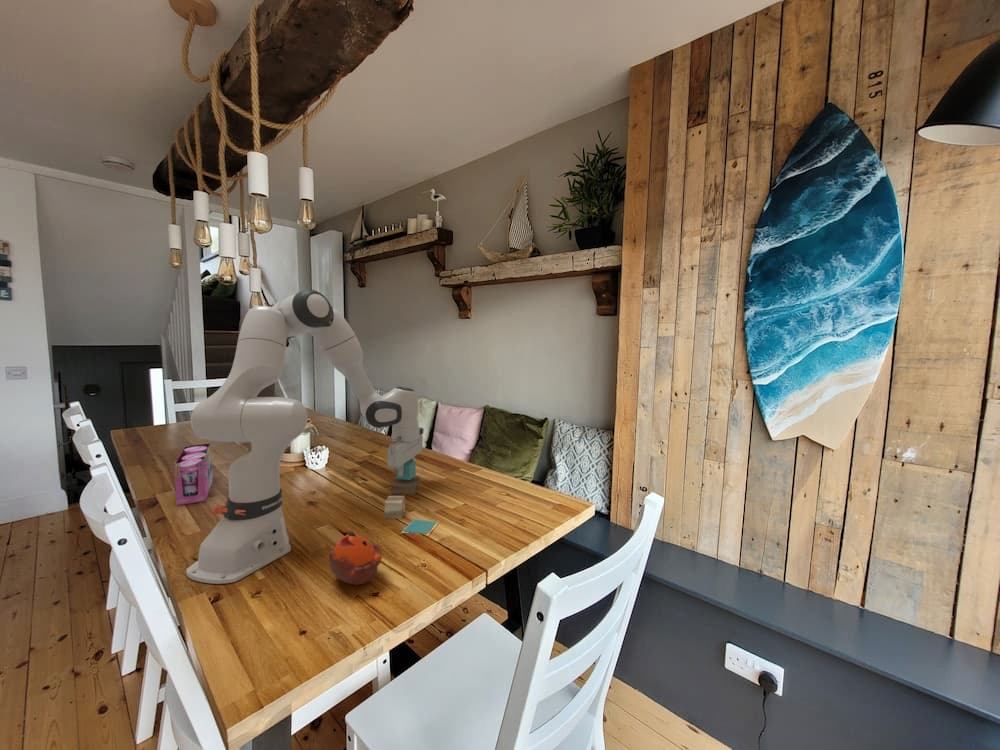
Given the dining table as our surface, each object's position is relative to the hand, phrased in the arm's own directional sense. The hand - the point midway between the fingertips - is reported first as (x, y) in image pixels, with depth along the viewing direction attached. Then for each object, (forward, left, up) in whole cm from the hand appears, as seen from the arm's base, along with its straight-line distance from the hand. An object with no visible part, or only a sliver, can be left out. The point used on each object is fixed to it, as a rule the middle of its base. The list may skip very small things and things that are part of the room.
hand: (405, 472), depth 143 cm
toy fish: (-50, -12, -7) cm, 52 cm away
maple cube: (-18, -5, -7) cm, 20 cm away
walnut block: (0, 0, -7) cm, 7 cm away
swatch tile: (-24, -16, -7) cm, 30 cm away
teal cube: (0, 0, -2) cm, 2 cm away
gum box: (-19, +68, -7) cm, 71 cm away
